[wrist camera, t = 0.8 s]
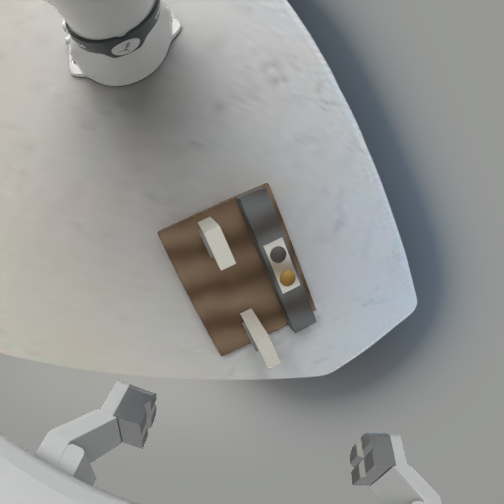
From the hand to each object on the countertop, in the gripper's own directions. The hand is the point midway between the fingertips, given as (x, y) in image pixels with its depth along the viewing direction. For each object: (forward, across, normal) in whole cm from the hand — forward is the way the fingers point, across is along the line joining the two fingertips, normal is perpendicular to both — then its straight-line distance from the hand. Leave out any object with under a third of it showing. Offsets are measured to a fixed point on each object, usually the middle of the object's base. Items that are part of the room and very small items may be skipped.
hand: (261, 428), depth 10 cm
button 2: (+36, +9, +8) cm, 38 cm away
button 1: (+35, 0, +21) cm, 41 cm away
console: (+38, +3, +14) cm, 40 cm away
